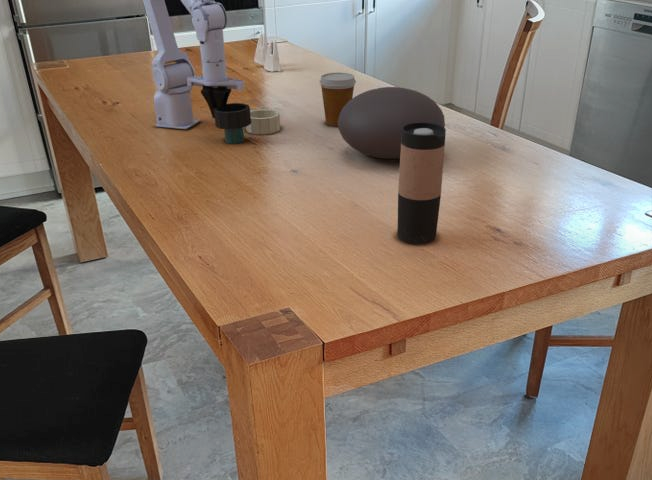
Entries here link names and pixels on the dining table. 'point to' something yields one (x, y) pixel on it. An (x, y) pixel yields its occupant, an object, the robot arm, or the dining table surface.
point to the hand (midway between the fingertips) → (218, 117)
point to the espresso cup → (234, 135)
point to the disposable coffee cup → (336, 94)
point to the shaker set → (267, 54)
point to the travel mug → (420, 181)
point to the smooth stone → (385, 119)
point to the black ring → (233, 116)
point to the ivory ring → (264, 121)
